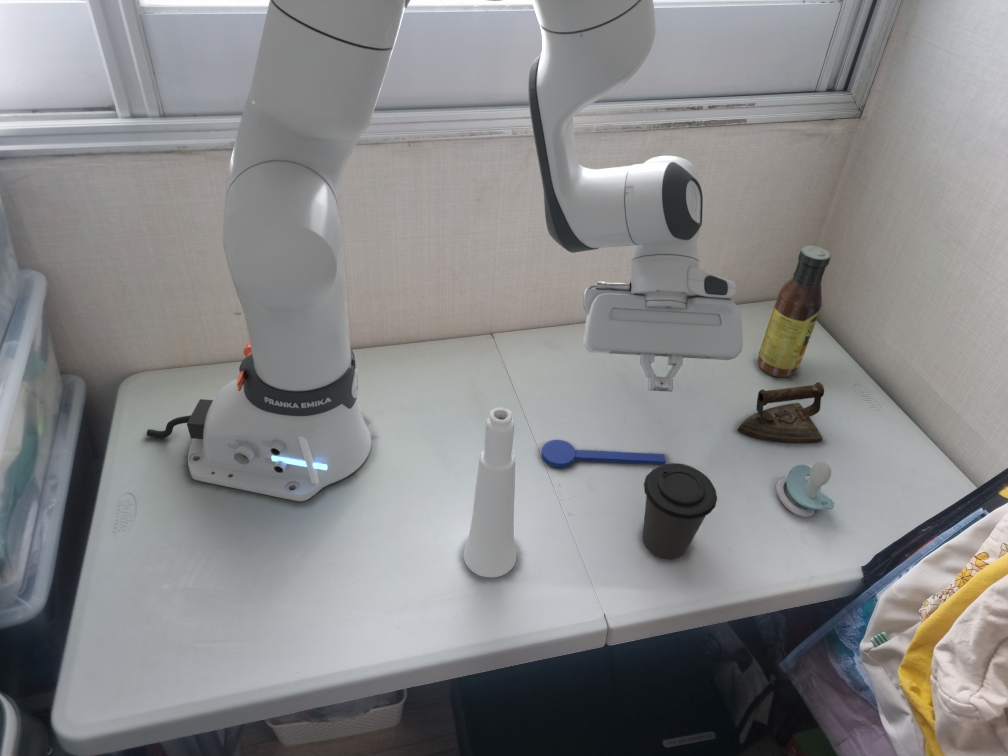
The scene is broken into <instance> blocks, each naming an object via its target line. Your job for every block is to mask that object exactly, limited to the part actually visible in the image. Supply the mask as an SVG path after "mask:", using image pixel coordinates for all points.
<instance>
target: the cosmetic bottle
mask: <svg viewBox="0 0 1008 756" xmlns="http://www.w3.org/2000/svg"><path fill="white" fill-rule="evenodd" d="M484 433H485V434H484V436H485V437H484V449H483V450H482V451H481V452H480V455H479V458H478V467H477V475H476V482H475V491H474V499H473V500H474V501H473V507H472V515H471V520H470V521H471V523H470V527H469V532H468V535H467V540H466V544H465V547H464V549H463V561H464V563H465V565H466V567H467V568H468V569H469V570H470V571H471V572H473V573H474V574H475V575H477V576H480V577H483V578H490V579H491V578H492V579H493V578H498V577H502V576H504V575H506V574H507V573H509V572H510V571H511V570H513V568H514V566H515V565H516V563H517V557H518V553H517V549H516V541H515V494H516V493H515V491H516V490H515V489H516V456H515V454H514V452H513V447H514V445H513V444H514V435H515V434H514V433H515V422H514V419H513V413H512V410H510V409H509V408H507V407H502V406H501V407H500V406H498V407H495V408H492V409H491V410H490V411H489V413H488V418H487V420H486V422H485V432H484Z"/></svg>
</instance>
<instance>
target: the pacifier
mask: <svg viewBox="0 0 1008 756" xmlns="http://www.w3.org/2000/svg"><path fill="white" fill-rule="evenodd" d="M806 477H808V480H807V478H806ZM831 477H832V468H831V465H830V464H829V463H828V462H826V461H825V460H816V461H815V462H814V463H812V465H811V466H810V465H807V464H797V465H795V466H793V467H792V468H791V469H790V470H788V473H787V474H786V477H781V478H780V479H778V480H777V482H776V486H775V489H776V494H777V496H778V499H779V500H780V502H781V504H782V505H783V506H784V507H785V508H786V509H787V510H788V511H790V512H791V513H792V514H794V515H796V516H799V517H802V518H808V517H811V516H812V515H814V513H815V511H816V510H817V511H828V510H829V511H830V510H833V509H834V508H835V506H836V503H835V501H834V500H833V499H832V498H830V497H829V496H827V495H825V494H823V493H822V492H821V489H822V488H821V487H822V486H824V485H826V484H828V482H829V481H830V480H831ZM785 486H786V488H787V492H788V493H789V496H790V497H791V498H792V499H793V500H794V501H795V502H796V503H797V504H799V506H801V507H803V509H802V508H799V507H798V506H796V505H795V504H793V502H791V501H790V500H789V498H788V497H787V495H786V493H785V489H784V487H785ZM804 508H805V509H804Z"/></svg>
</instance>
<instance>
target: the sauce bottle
mask: <svg viewBox="0 0 1008 756" xmlns="http://www.w3.org/2000/svg"><path fill="white" fill-rule="evenodd" d="M831 258H832V255H831V252H830V251H828V250H827V249H825V248H823V247H820V246H818V245H805V246H803V247H802V248H801V249H800V251H799V254H798V258H797V260H798V261H797V265H796V268H795V270H794V272H793V275H792V277H791V278H790V279H789V280H788V281H786V282H785V283H784V284H783V285H782V286H781V287H780V289H779V292H778V295H777V298H776V301H775V303H774V305H773V307H772V311H771V313H770V316H769V319H768V324H767V326H766V330H765V332H764V336H763V338H762V342H761V344H760V345H761V346H760V348H759V350H758V357H757V364H758V366H759V368H760V369H761V370H762V371H763V372H764V373H766V374H769V375H771V376H772V377H773V376H774V377H778V378H789V377H791V376H793V375H794V374H795V373H796V372H797V370H798V368H799V367H800V365H801V364H802V361H803V358H804V355H805V352H806V350H807V347H808V344H809V342H810V339H811V337H812V334H813V331H814V329H815V326H816V323H817V320H818V318H819V315H820V313H821V309H822V307H823V303H822V301H823V300H822V281H823V276H824V274H825V272H826V269H827V267H828V266H829V264H830V261H831Z"/></svg>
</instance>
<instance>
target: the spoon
mask: <svg viewBox="0 0 1008 756" xmlns="http://www.w3.org/2000/svg"><path fill="white" fill-rule="evenodd" d="M541 458H542V460H543V461H544V463H546V464H547V465H548V466H550V467H553V468H558V469H563V468H567V467H570V466H571V465H572V464H574V462H575V461H584V462H603V463H622V464H623V463H624V464H626V463H627V464H643V465H645V464H646V465H664V464H667V461H666V455H665V454H664V453H649V452H630V451H629V452H628V451H611V450H610V451H609V450H589V449H588V450H587V449H575V447H574V446H573V445H572V444H571V443H570V442H568V441H567V440H563V439H552V440H549V441H547V442H545V443H544V444H543V446H542V448H541Z"/></svg>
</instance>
